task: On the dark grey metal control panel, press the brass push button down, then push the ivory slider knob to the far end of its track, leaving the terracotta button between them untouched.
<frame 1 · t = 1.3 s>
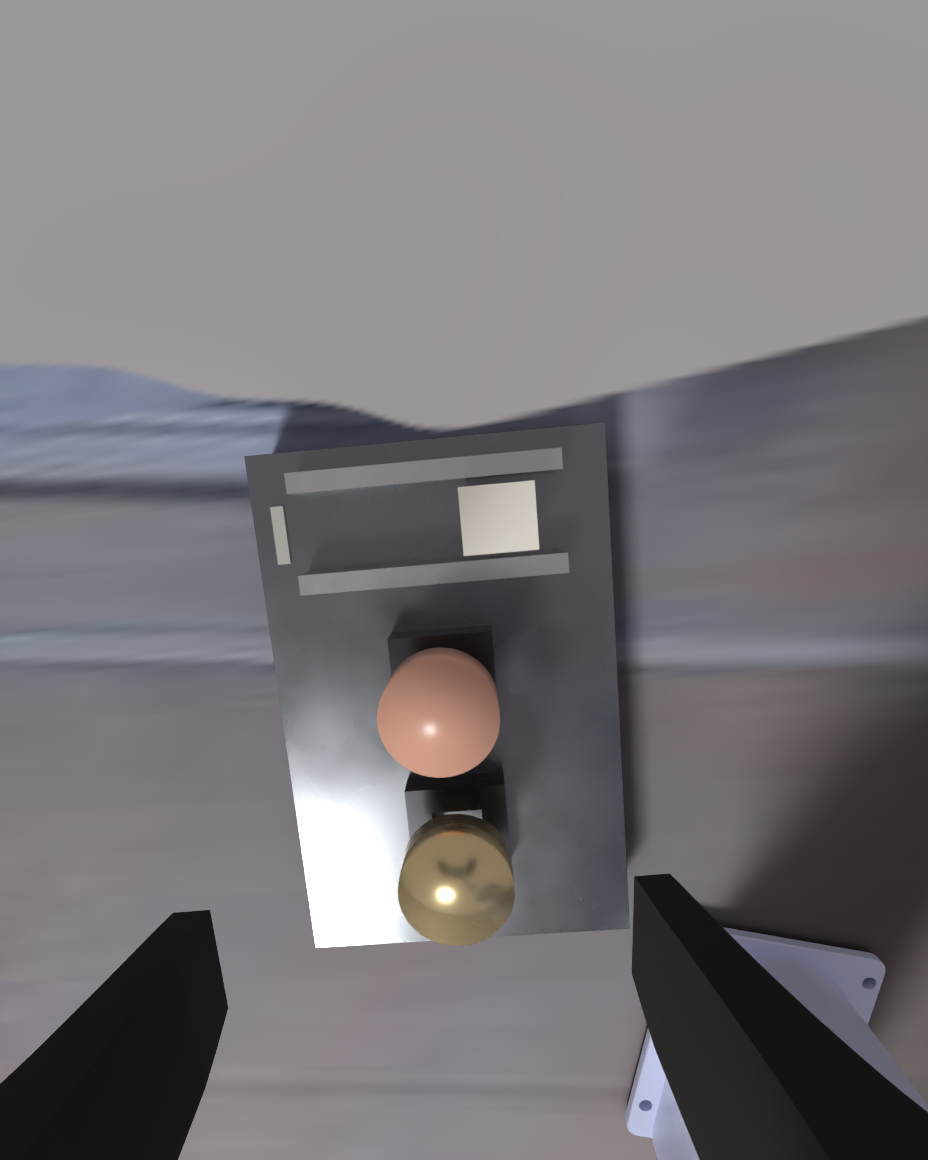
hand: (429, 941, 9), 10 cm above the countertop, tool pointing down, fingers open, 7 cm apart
panel: (451, 685, 19), on the countertop
brass button: (457, 867, 15), point 4 cm above the countertop, slide at 0.0 cm
terracotta button: (441, 704, 15), point 4 cm above the countertop, slide at 0.0 cm
slider knob: (497, 517, 15), point 3 cm above the countertop, slide at 0.0 cm
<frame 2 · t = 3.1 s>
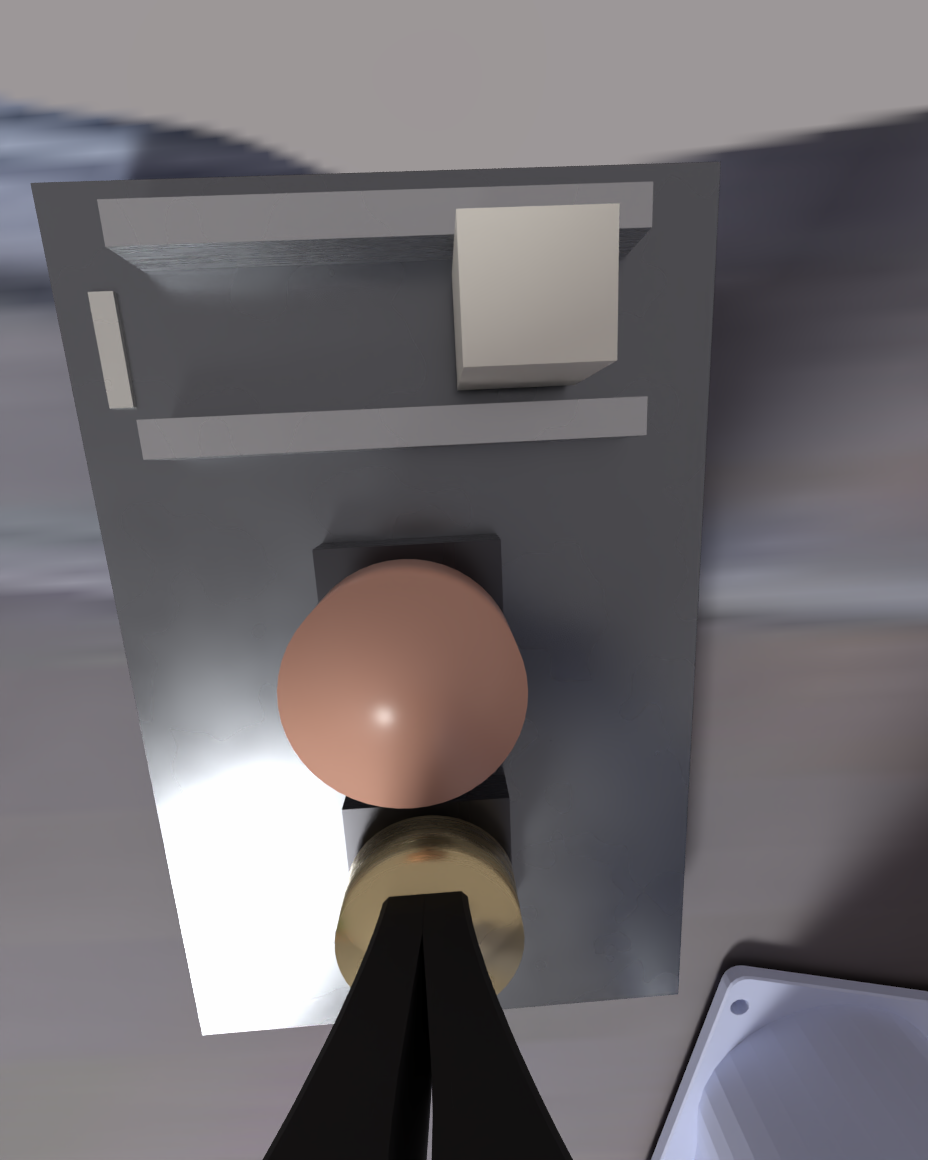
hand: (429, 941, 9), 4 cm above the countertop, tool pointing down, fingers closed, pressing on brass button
panel: (422, 636, 12), on the countertop
brass button: (431, 895, 10), point 3 cm above the countertop, slide at 1.1 cm, touching gripper
terracotta button: (408, 667, 8), point 4 cm above the countertop, slide at 0.0 cm
slider knob: (525, 311, 8), point 3 cm above the countertop, slide at 0.0 cm
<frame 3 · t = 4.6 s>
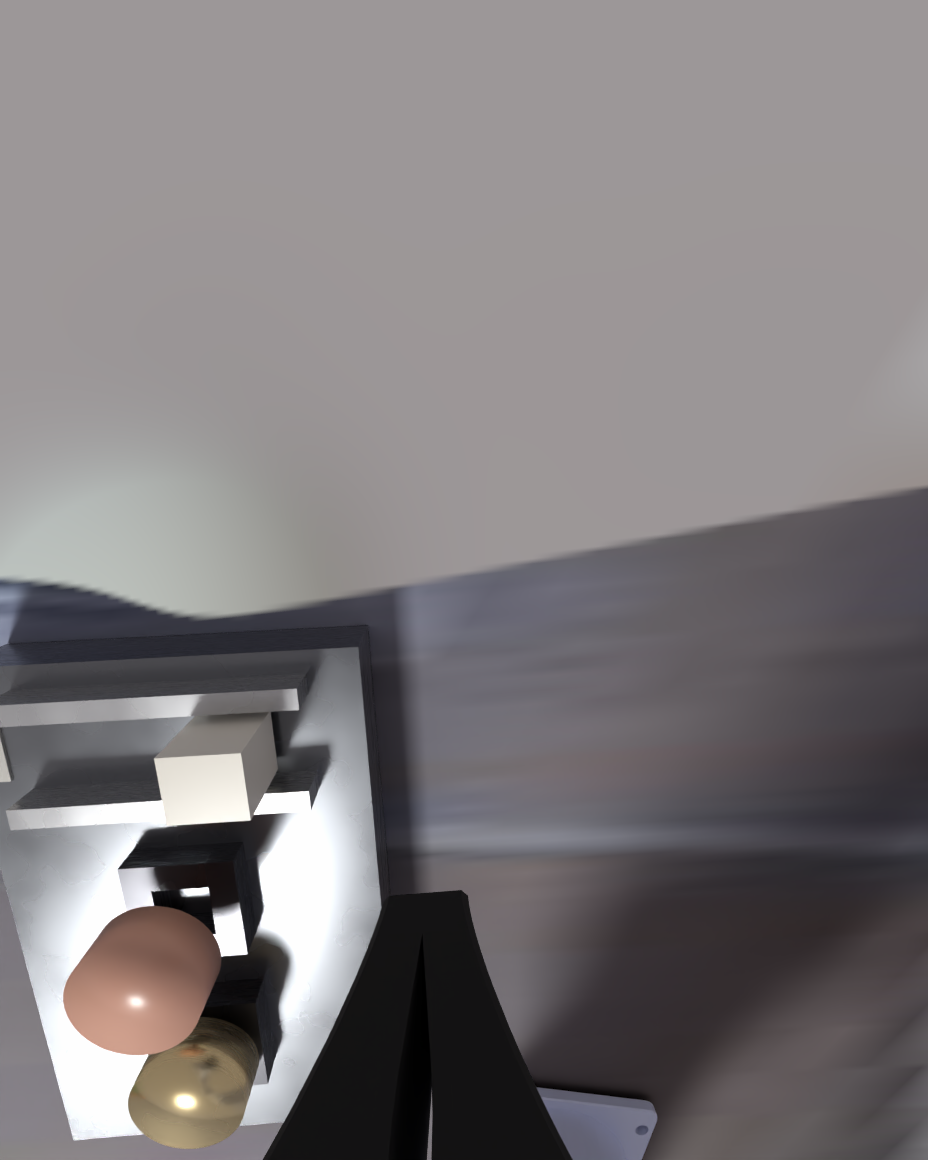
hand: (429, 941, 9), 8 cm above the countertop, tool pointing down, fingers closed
panel: (227, 869, 18), on the countertop
brass button: (203, 1064, 16), point 3 cm above the countertop, slide at 1.1 cm
terracotta button: (155, 962, 14), point 4 cm above the countertop, slide at 0.0 cm
slider knob: (221, 764, 14), point 3 cm above the countertop, slide at 0.0 cm
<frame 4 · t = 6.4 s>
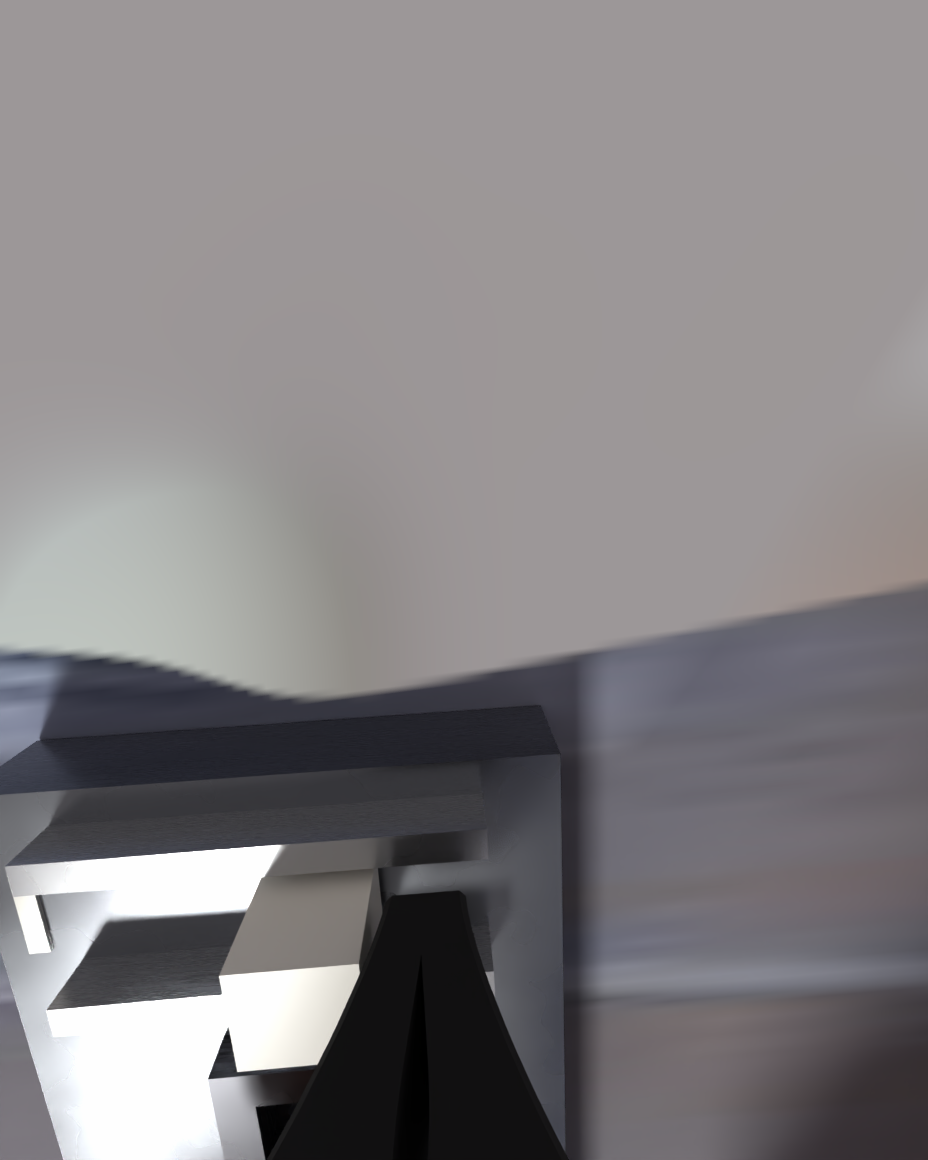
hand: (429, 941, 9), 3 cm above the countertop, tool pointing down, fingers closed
panel: (333, 1025, 13), on the countertop
slider knob: (313, 951, 9), point 3 cm above the countertop, slide at 1.1 cm, touching gripper
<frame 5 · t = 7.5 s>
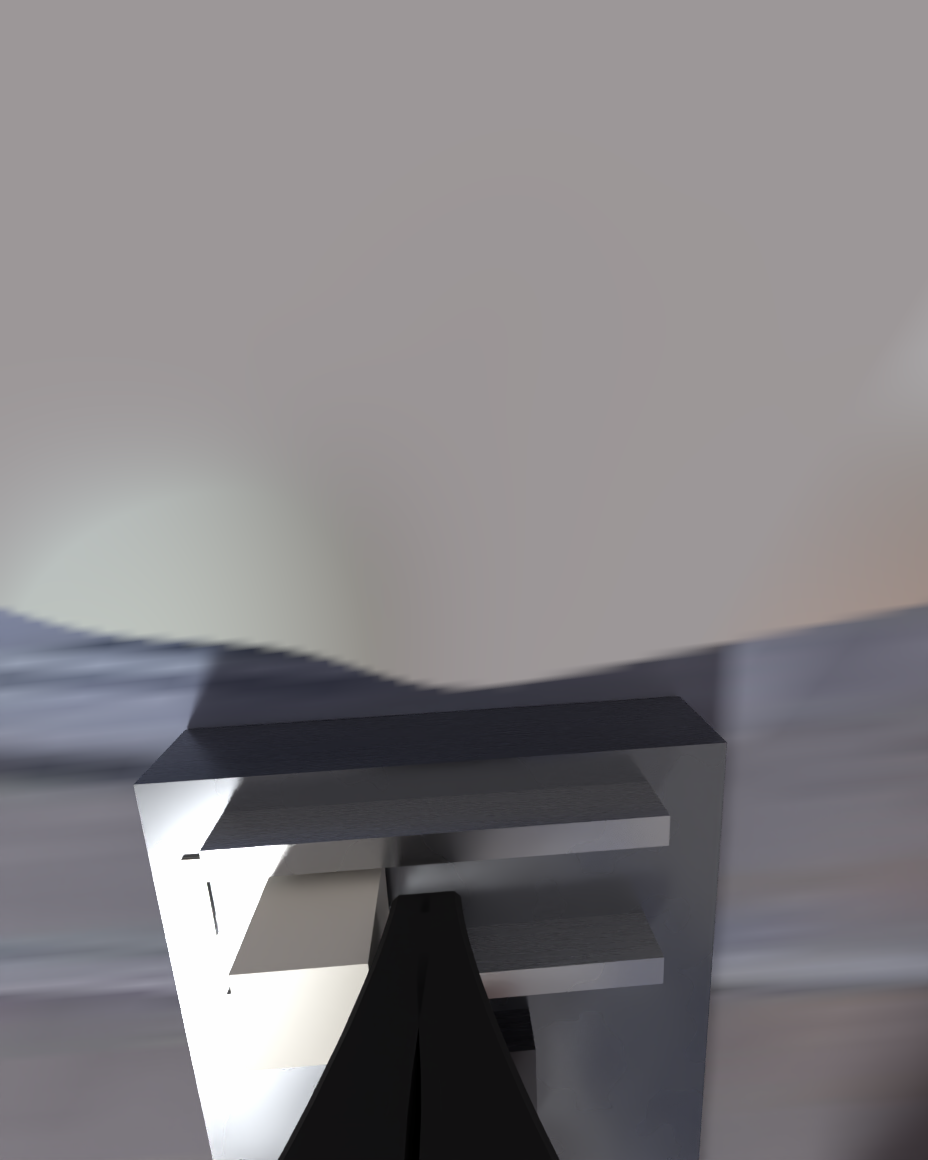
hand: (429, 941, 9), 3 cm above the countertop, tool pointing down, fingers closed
panel: (456, 1015, 14), on the countertop
slider knob: (321, 951, 9), point 3 cm above the countertop, slide at 4.1 cm, touching gripper
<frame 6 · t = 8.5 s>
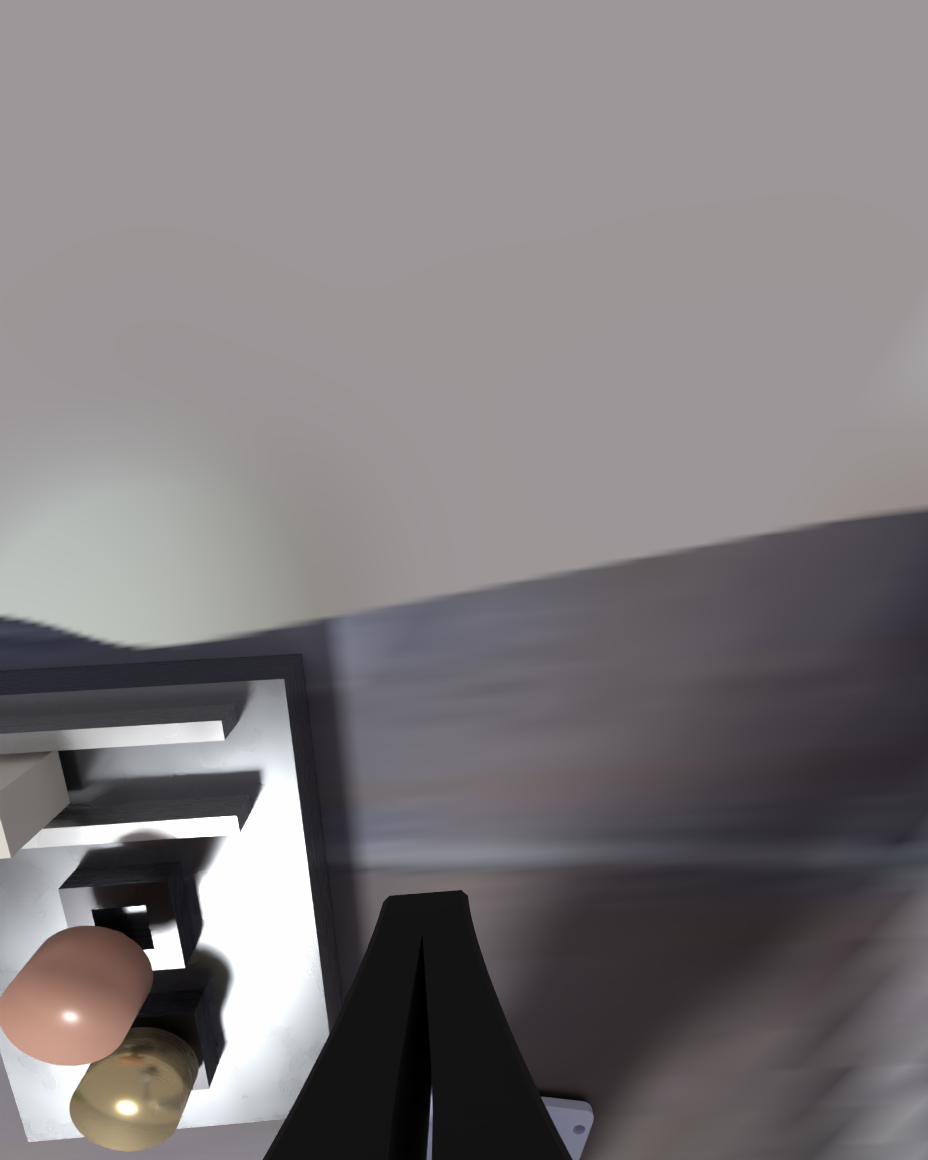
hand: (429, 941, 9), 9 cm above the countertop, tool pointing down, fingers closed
panel: (173, 884, 19), on the countertop
brass button: (144, 1071, 17), point 3 cm above the countertop, slide at 1.1 cm
terracotta button: (90, 978, 14), point 4 cm above the countertop, slide at 0.0 cm
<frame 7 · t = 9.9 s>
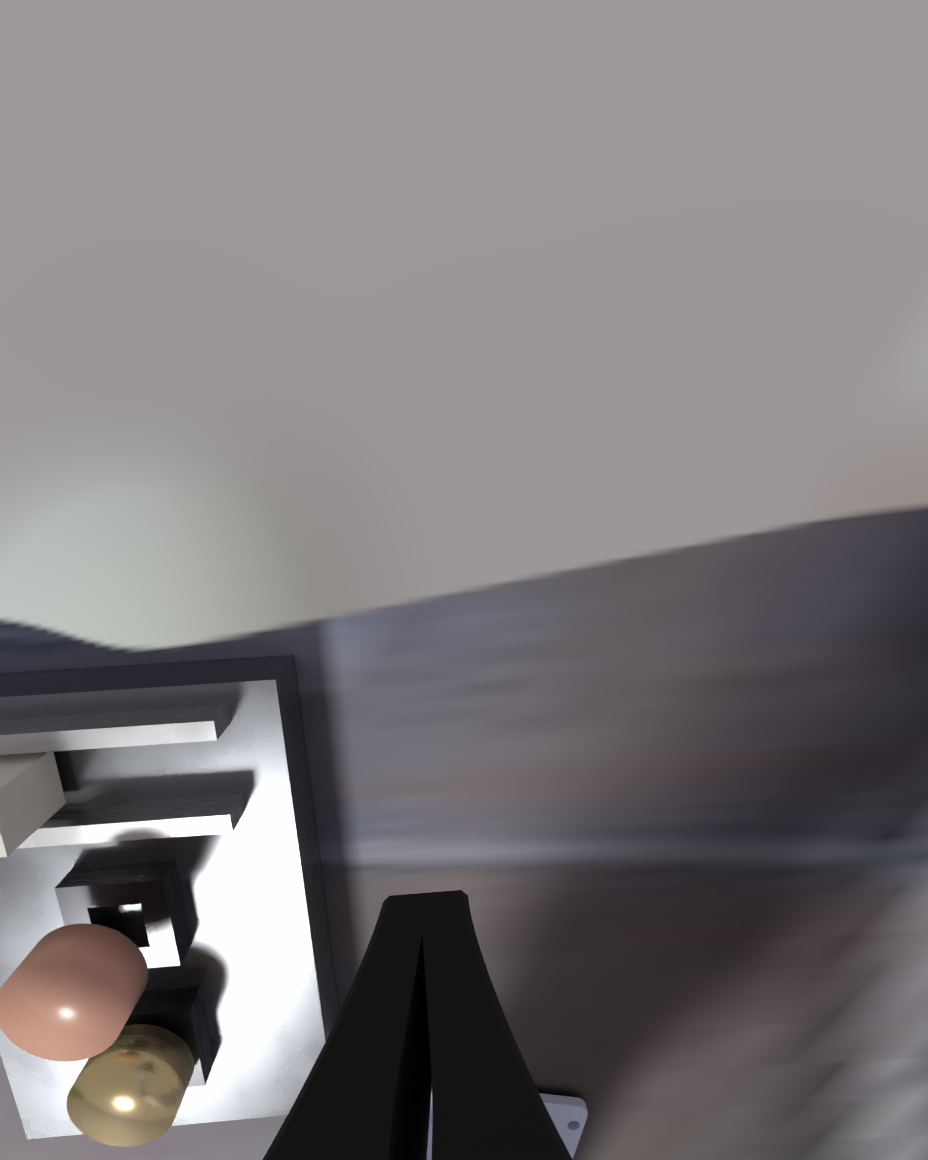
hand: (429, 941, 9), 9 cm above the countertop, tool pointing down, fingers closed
panel: (169, 884, 19), on the countertop
brass button: (141, 1068, 17), point 3 cm above the countertop, slide at 1.1 cm
terracotta button: (86, 975, 15), point 4 cm above the countertop, slide at 0.0 cm
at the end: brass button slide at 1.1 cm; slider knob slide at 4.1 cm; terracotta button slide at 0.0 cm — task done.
